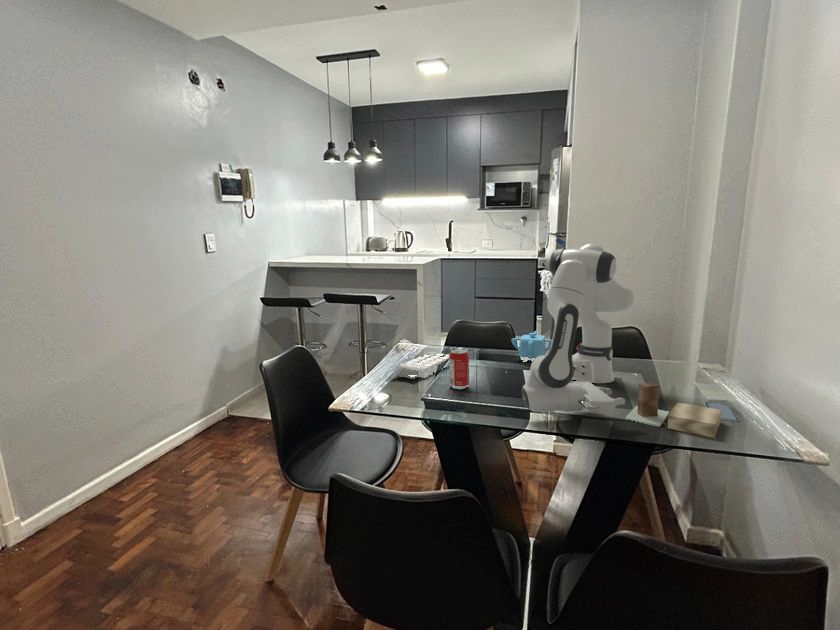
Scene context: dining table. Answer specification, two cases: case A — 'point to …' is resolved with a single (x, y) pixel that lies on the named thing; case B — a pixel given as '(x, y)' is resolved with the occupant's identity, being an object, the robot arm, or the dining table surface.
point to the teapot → (532, 345)
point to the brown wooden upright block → (648, 399)
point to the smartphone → (723, 411)
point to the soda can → (459, 368)
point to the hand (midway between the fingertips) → (617, 395)
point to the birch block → (695, 419)
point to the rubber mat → (650, 419)
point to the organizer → (424, 363)
